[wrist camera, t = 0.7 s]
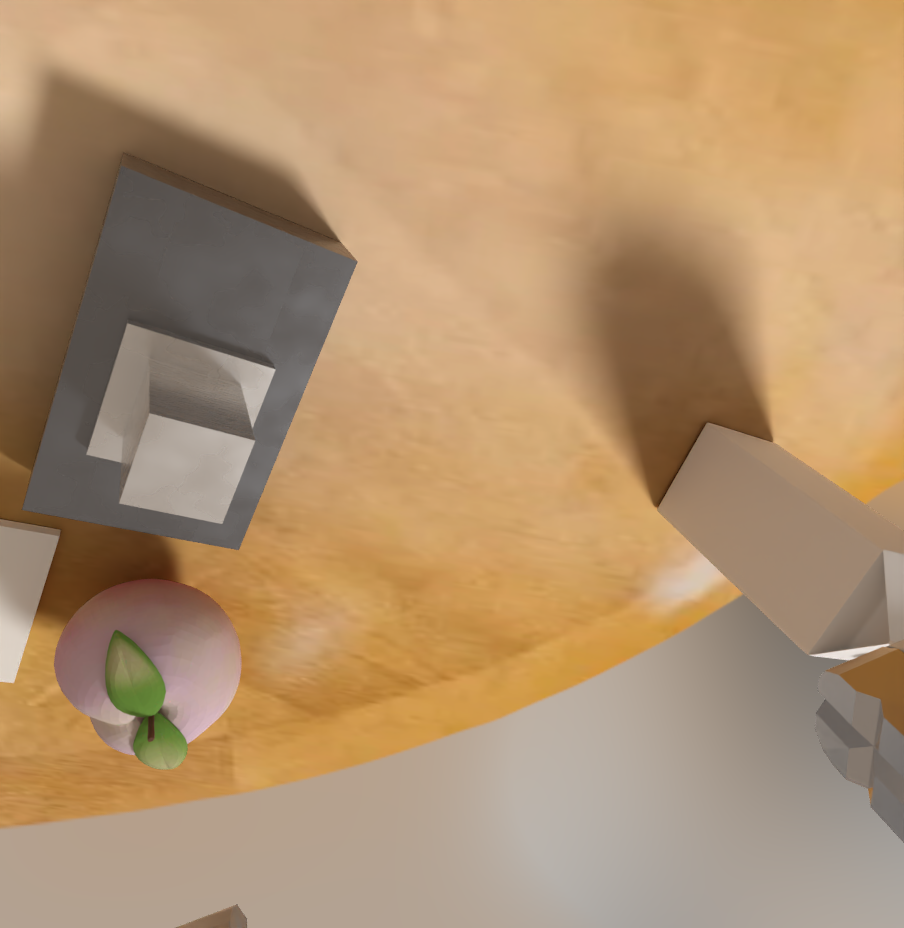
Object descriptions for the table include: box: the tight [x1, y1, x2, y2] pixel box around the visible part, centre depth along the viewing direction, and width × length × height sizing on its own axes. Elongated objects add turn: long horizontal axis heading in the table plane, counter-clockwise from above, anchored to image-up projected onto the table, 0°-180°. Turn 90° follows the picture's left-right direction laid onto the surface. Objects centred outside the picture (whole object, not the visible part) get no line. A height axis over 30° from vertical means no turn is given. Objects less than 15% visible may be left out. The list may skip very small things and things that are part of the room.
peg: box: [86, 319, 276, 524], centre depth 33 cm, size 6×6×10 cm
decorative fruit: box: [54, 579, 241, 769], centre depth 39 cm, size 9×8×10 cm
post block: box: [22, 153, 357, 550], centre depth 35 cm, size 10×16×4 cm, turn 153°
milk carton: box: [657, 423, 904, 660], centre depth 45 cm, size 7×7×19 cm
